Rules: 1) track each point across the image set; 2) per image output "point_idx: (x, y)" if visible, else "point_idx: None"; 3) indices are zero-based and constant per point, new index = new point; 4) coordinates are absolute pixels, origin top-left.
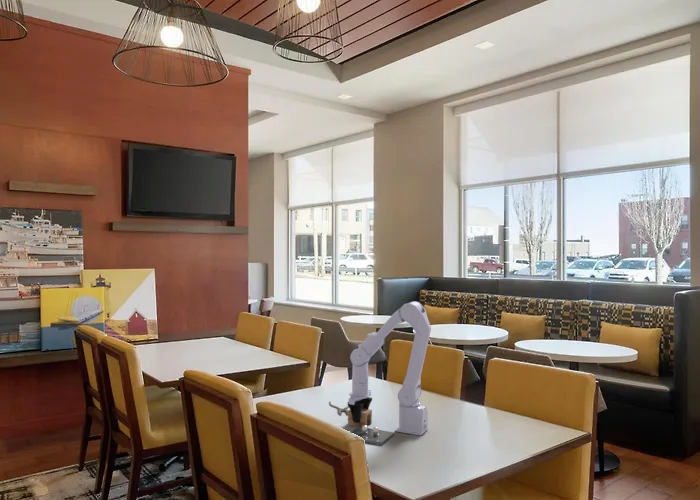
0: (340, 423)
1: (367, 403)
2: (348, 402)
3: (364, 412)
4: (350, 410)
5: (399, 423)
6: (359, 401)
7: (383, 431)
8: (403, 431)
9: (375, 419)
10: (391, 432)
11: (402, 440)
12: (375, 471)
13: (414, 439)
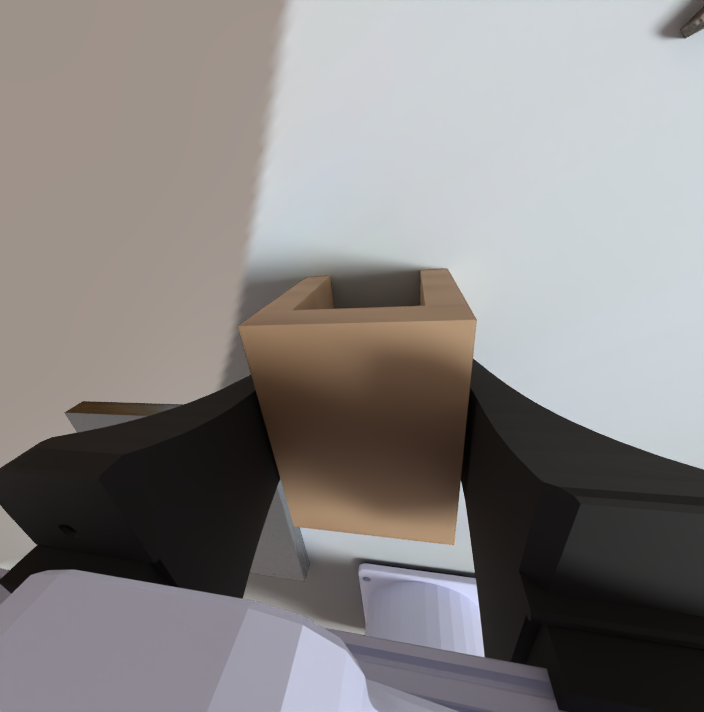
0: (293, 183)
1: (483, 587)
2: (4, 492)
3: (310, 510)
4: (268, 353)
5: (386, 621)
6: (507, 496)
7: (280, 544)
8: (362, 597)
9: (581, 419)
10: (293, 572)
11: (276, 589)
12: (20, 560)
13: (317, 616)
